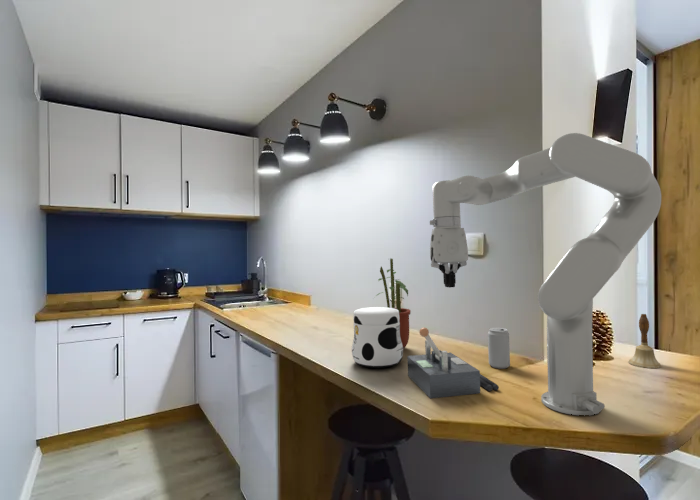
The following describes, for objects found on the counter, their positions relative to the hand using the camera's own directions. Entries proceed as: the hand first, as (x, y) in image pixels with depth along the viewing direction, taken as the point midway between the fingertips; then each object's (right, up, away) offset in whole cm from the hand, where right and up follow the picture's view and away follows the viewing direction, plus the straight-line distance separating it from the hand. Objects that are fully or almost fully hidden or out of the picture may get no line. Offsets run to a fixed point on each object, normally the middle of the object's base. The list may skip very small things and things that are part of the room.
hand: (449, 286), depth 111 cm
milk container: (-20, -28, +18) cm, 39 cm away
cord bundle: (+9, -27, 0) cm, 28 cm away
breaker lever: (-3, -20, -2) cm, 20 cm away
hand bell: (+64, -26, +10) cm, 70 cm away
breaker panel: (-3, -28, -2) cm, 28 cm away
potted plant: (-13, -28, +38) cm, 49 cm away
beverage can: (+19, -27, +12) cm, 35 cm away
